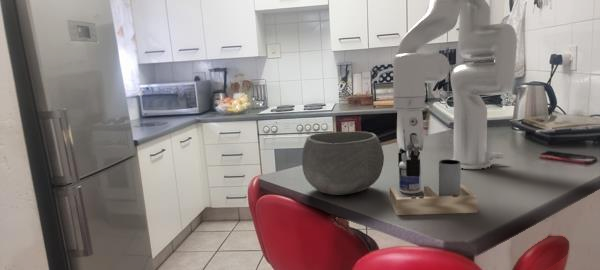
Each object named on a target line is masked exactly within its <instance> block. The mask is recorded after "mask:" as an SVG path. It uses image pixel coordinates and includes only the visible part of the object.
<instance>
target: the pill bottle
mask: <svg viewBox="0 0 600 270" xmlns="http://www.w3.org/2000/svg"><path fill="white" fill-rule="evenodd" d="M410 154H411V153H410ZM402 160H403V161H402V162H400V164H399V166H398V177H399V182H398V185H399V191H400V192H401V193H403V194H409V195H410V194H418V193H420V192H421V191H422V165H421V163H420V176H407V175H406V160H408V158H407V153H403V154H402Z"/></svg>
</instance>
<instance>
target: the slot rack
mask: <svg viewBox="0 0 600 270" xmlns="http://www.w3.org/2000/svg"><path fill="white" fill-rule="evenodd" d="M478 201H479V197H478V195H476V194H475V193H473V192H472V191H471V190H470V189H469V188H467V187H466V186H465V185H464V184H460V196H458V195H452V196H439V195H437V194H436V193H435V192H434V191H433V190H432V188H431V187H429V186H428V185H426V186H425V185H424V186H423V195H418V196H415V195H413V196H410V197H405V196H404V197H401V196H400V195H399V193H398V191H397V190H396V188H395V187H389V202H390V204H391V206H392V209H393V211H394V212H395V214H396V215H397V216H407V215H408V216H410V215H442V214H444V215H445V214H449V215H450V214H474V213H475V214H478V205H479V203H478Z"/></svg>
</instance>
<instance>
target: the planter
mask: <svg viewBox="0 0 600 270" xmlns="http://www.w3.org/2000/svg"><path fill="white" fill-rule="evenodd" d="M450 159H451V158H450ZM450 159H448V158H447V159H441V160H439V161H438V196H452V195H458V196H460V185H461V177H462V175H461V171H462V170H461V169H462V168H461V162H460V161H458V160H450Z"/></svg>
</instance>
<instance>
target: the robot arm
mask: <svg viewBox="0 0 600 270" xmlns="http://www.w3.org/2000/svg"><path fill="white" fill-rule="evenodd" d="M458 19H459V21H458ZM458 22H459V23H458ZM457 23H458V24H459V25H458V39H457V49H458V50H457V51H458V54H459V56H460V57H461V58H463V59H469V60H470V59H471V60H472V59H475V60H476V59H489V58H490V59H492V58H493V59H494V60H495V61H491V62H469V63H467V62H466V63H462V64H459V65H457V66H456V67H455V68H454V69H453V70H452V72H451V73H450V70H451V66H450V65H451V63H450V61H449V59H448V57H447V56H446V55H445V54H442V53H440V52H425V53H424V52H422V53H421V52H419V51H420V50H421V49H422V48H423V47H424V46H425V45H427V44H428V43H430V42H432V41H434V40H436V39H438V38H440V37H442V36H443V35H445V34H448V33H449V32H451V31H452V30H453V29H454V28H455V27H456V25H457ZM517 40H518V39H517V32H516V30H515V28H514V27H513V26H512V25H511V24H509V23H503V22H502V23H495V24H491V7H490V5H489V3H488V2H487V1H486V0H429V2H428V4H427V8H426V10H425V13H424V15H423V17H422V18H421V19H419V21H417V23H415V24H414V25H413V26H412V28H410V29H409V31H407V33H406V34H405V35H404V36H403V37H402V39H401V40H400V42H399V44H398V47H397V51H396V53H395V56H394V58H393V62H392V64H393V65H392V73H393V79H392V81H393V87H392V89H393V91H392V92H393V95H392V97H393V98H392V99H393V100H392V101H393V106H392V107H393V108H392V109H393V111H396V112H397V113H396V114H397V116H396V117H397V119H396V141H397V145H398V152H397V153H398V154H397V155H398V156H397V157H398V158H397V159H398V164H397V165H398V167H399V164H400V162H402V161H403V160H402V154H403V153H407V158H408V160H406V175H407V176H420V164H421V153H420V151H424V150H425V133H424V132H425V131H424V116H423V115H424V114H423V111H425V108H426V107H425V105H426V103H425V102H426V99H425V98H426V97H425V96H426V95H425V94H426V84H427V83H429V84H430V83H431V84H432V83H439V82H441V81H444V80H445V79H446V78H447V77H448V75H449V73H450V85H451V90H452V91H451V92H452V97H453V158H450V160H458V161H460V162H461V169H462V168H463V169H464V170H483V169H482V168H484V169H488V168H487V167H489V168H491V167H492V166H491V165H492V160H493V159H494V160H502V159H504V154H503V152H494V151H491V152H490V151H489V150H487V143H488V142H487V137H488V135H487V133H488V131H487V130H488V108H487V105H486V103H485V102H484V100H483V99H482V97H481V96H498V95H500V96H501V95H507V94H508V93H510V92H511V91H512V89H513V87H514V84H515V76H516V75H515V73H516V61H517V60H516V59H517V47H518V45H517V42H518V41H517ZM418 52H419V53H418ZM410 153H411V154H410ZM490 166H491V167H490ZM463 169H462V170H463Z"/></svg>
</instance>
